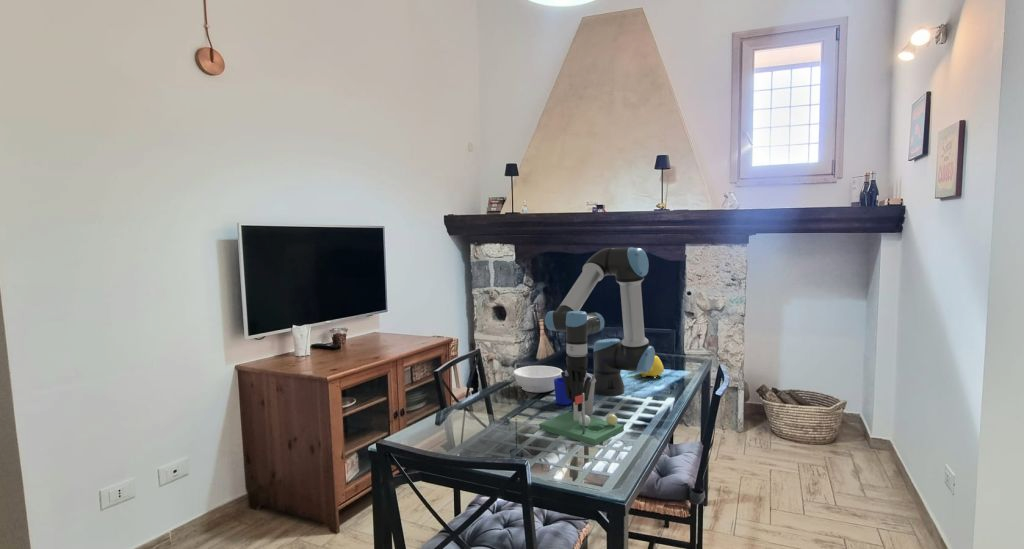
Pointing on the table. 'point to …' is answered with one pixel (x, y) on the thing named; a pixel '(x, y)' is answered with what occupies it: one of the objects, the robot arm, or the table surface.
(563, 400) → the mug
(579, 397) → the flag pin
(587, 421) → the white ball
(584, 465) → the table surface
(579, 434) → the putting mat
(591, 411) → the coffee cup
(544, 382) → the bowl
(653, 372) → the teapot
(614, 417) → the yellow ball
